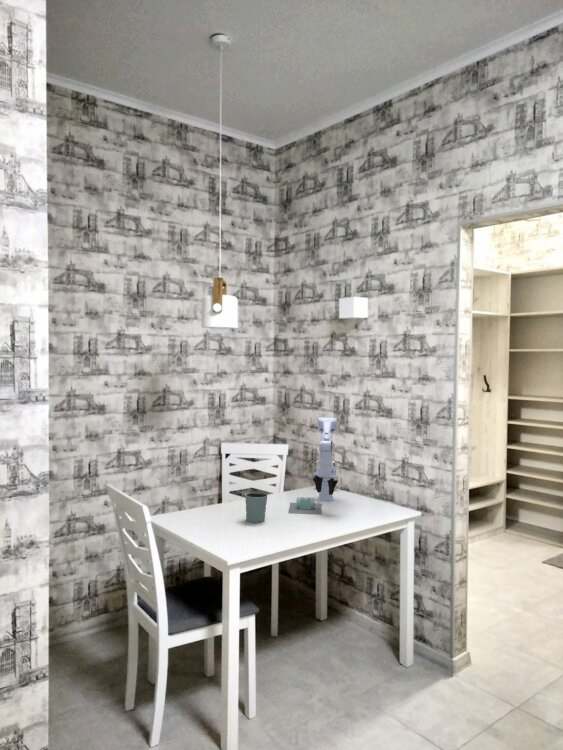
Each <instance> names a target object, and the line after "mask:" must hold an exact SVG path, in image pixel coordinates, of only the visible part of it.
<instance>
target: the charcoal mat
mask: <svg viewBox="0 0 563 750" xmlns="http://www.w3.org/2000/svg"><path fill="white" fill-rule="evenodd" d="M322 505H323V504H322V503H319V506H316V505H315V507H314V509H313V510H306V509H297V508H296V502H290V503H289V508H288V511H287V512H288V513H287V514H295V515H315V516H316V515H318V516H321V515H322V510H323V509H322Z"/></svg>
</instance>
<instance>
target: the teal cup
mask: <svg viewBox="0 0 563 750" xmlns="http://www.w3.org/2000/svg"><path fill="white" fill-rule="evenodd" d="M267 501H268V494H267V493H265V492H260V491H259V492H258V491H256V492H254V491H251V492H247V493H245V505H246V506H245V513H246V514H245V520H246V522H247V521H248V522H247V523H250V522H252V523H251V524H261V523H264V522H265V520H266V511H267V503H268V502H267Z"/></svg>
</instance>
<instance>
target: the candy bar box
mask: <svg viewBox="0 0 563 750" xmlns="http://www.w3.org/2000/svg"><path fill="white" fill-rule="evenodd" d="M319 466H320V459H317V460H316V461H315V472H317V469H318V467H319ZM332 466H333V467H334V468H335V475H336V476H337V460H332ZM331 471H332V470H331ZM335 489H336V490H337V485H336V486H335V488H334V491H336V490H335ZM315 490H317V489H316V485H315Z"/></svg>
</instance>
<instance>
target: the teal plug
mask: <svg viewBox="0 0 563 750" xmlns="http://www.w3.org/2000/svg"><path fill="white" fill-rule="evenodd" d="M295 503H296V508H297V509H306V510H313V509H314V507H315V505H316V506H319V504H320V501H317V502H316V500H315V497H309V496H308V497H304V496H298V497H296V502H295Z"/></svg>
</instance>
